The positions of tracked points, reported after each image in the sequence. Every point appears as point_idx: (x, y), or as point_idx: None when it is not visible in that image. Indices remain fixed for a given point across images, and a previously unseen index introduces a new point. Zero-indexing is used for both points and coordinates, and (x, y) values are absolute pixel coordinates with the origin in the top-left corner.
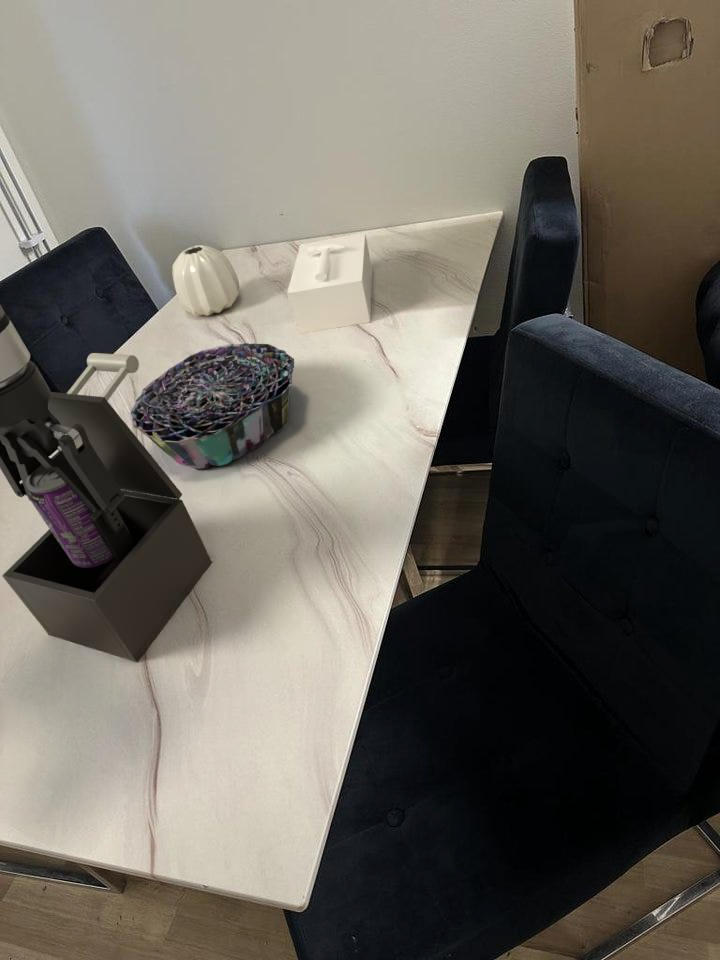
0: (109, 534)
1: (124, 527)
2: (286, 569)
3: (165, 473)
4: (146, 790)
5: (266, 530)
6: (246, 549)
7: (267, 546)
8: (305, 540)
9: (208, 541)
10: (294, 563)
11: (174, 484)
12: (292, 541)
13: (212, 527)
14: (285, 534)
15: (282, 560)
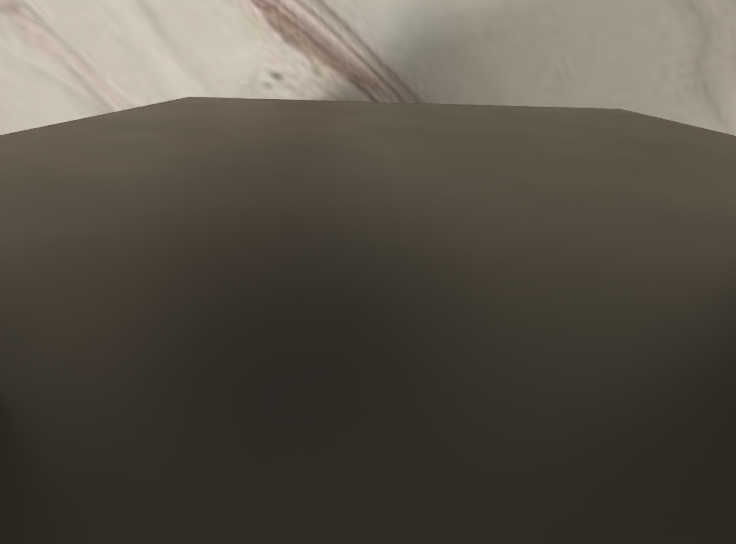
0: None
1: None
2: (695, 120)
3: (708, 130)
4: None
5: (608, 9)
6: (578, 83)
7: (628, 62)
8: (721, 21)
9: (471, 79)
10: (710, 99)
11: (655, 117)
12: (688, 32)
13: (458, 30)
14: (663, 12)
15: (678, 97)
